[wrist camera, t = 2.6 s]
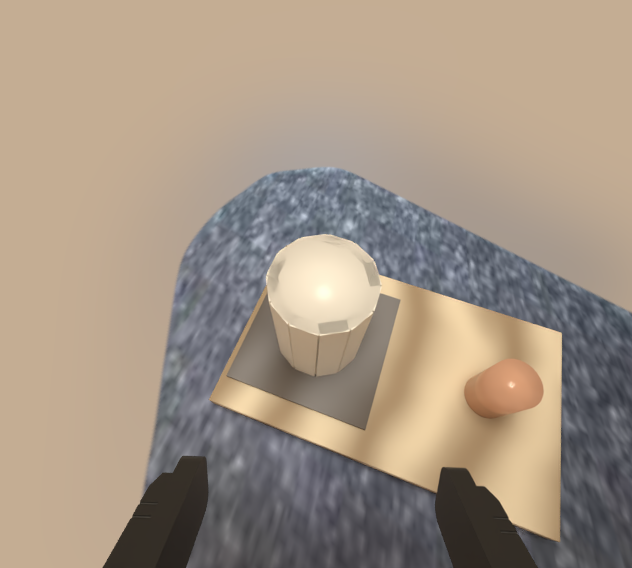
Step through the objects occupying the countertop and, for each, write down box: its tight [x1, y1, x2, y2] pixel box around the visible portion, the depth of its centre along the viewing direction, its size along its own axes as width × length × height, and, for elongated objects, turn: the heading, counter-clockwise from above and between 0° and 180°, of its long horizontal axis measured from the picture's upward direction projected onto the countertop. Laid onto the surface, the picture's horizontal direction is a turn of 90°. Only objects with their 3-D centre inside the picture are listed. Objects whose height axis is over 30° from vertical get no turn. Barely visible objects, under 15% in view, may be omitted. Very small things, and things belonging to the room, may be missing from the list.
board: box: [209, 245, 562, 542], centre depth 27 cm, size 25×15×2 cm, turn 70°
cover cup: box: [266, 234, 382, 377], centre depth 23 cm, size 6×6×9 cm
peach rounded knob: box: [464, 359, 544, 419], centre depth 24 cm, size 3×3×4 cm
